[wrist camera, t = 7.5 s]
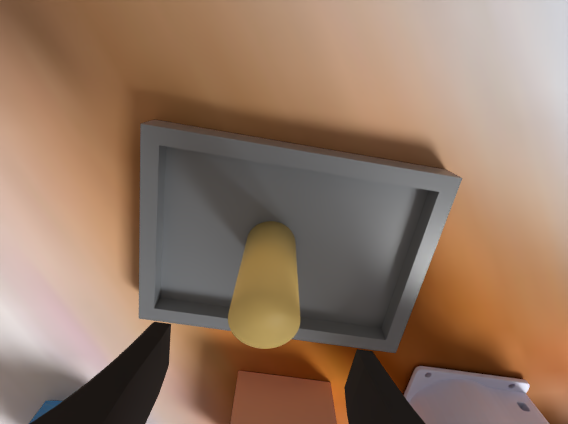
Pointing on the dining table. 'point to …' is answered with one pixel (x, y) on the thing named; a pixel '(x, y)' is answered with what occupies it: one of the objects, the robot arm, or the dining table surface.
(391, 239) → the tray
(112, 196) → the dining table surface
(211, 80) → the dining table surface
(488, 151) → the dining table surface
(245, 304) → the dowel
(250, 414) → the peach hollow square block
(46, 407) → the perfume bottle
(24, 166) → the dining table surface
